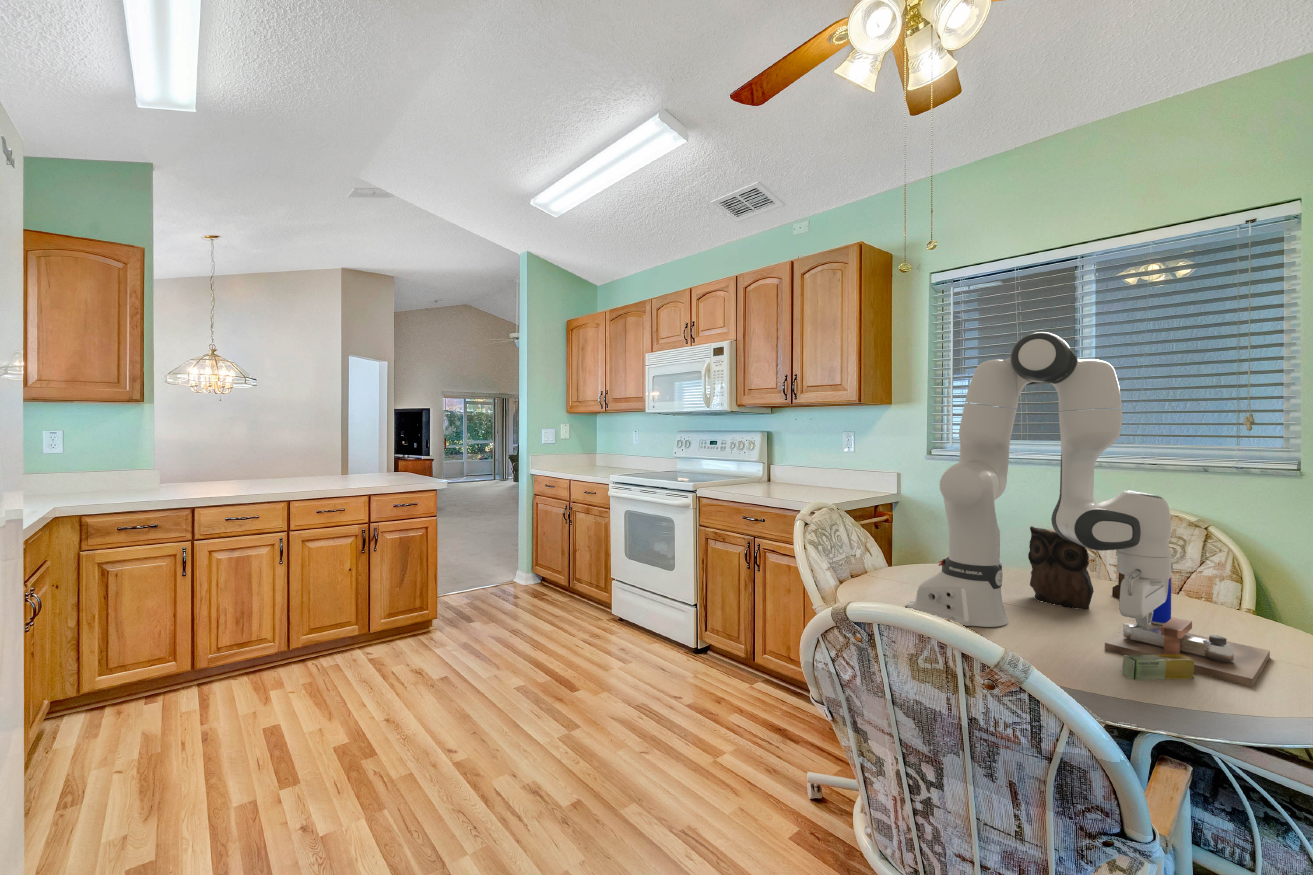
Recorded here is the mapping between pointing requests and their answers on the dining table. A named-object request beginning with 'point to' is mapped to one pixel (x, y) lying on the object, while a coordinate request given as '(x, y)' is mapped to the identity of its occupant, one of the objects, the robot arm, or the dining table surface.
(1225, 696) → the dining table surface
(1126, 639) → the walnut base plate
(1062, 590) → the owl
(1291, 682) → the dining table surface
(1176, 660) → the medication box
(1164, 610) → the beverage can
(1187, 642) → the steel link
